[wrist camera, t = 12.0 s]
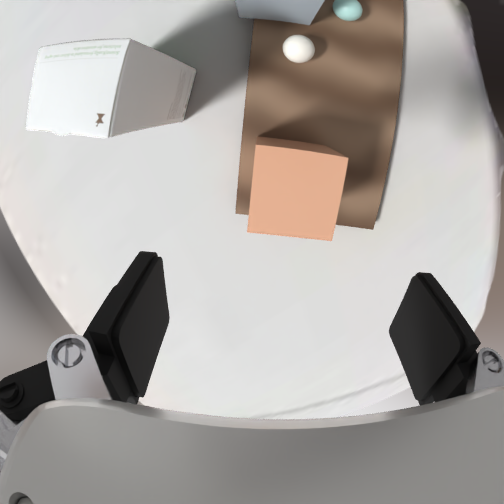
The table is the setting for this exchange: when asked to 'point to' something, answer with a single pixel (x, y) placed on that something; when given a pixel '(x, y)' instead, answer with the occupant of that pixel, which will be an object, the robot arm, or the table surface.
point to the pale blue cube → (280, 10)
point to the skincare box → (106, 88)
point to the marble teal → (347, 9)
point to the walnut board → (329, 98)
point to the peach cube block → (295, 189)
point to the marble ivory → (298, 48)
